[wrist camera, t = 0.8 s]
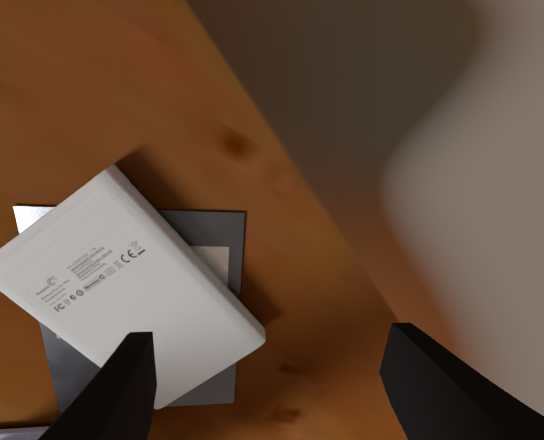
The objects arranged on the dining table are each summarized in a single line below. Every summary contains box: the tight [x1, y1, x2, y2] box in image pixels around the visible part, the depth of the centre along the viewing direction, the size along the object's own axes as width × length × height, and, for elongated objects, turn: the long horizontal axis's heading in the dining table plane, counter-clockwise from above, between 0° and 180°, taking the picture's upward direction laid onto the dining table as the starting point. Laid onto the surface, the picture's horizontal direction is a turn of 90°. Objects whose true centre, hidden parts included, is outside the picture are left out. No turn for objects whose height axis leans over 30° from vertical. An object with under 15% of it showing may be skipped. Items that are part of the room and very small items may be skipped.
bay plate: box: [13, 205, 245, 413], centre depth 20 cm, size 14×11×1 cm
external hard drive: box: [0, 164, 266, 409], centre depth 18 cm, size 2×8×12 cm
